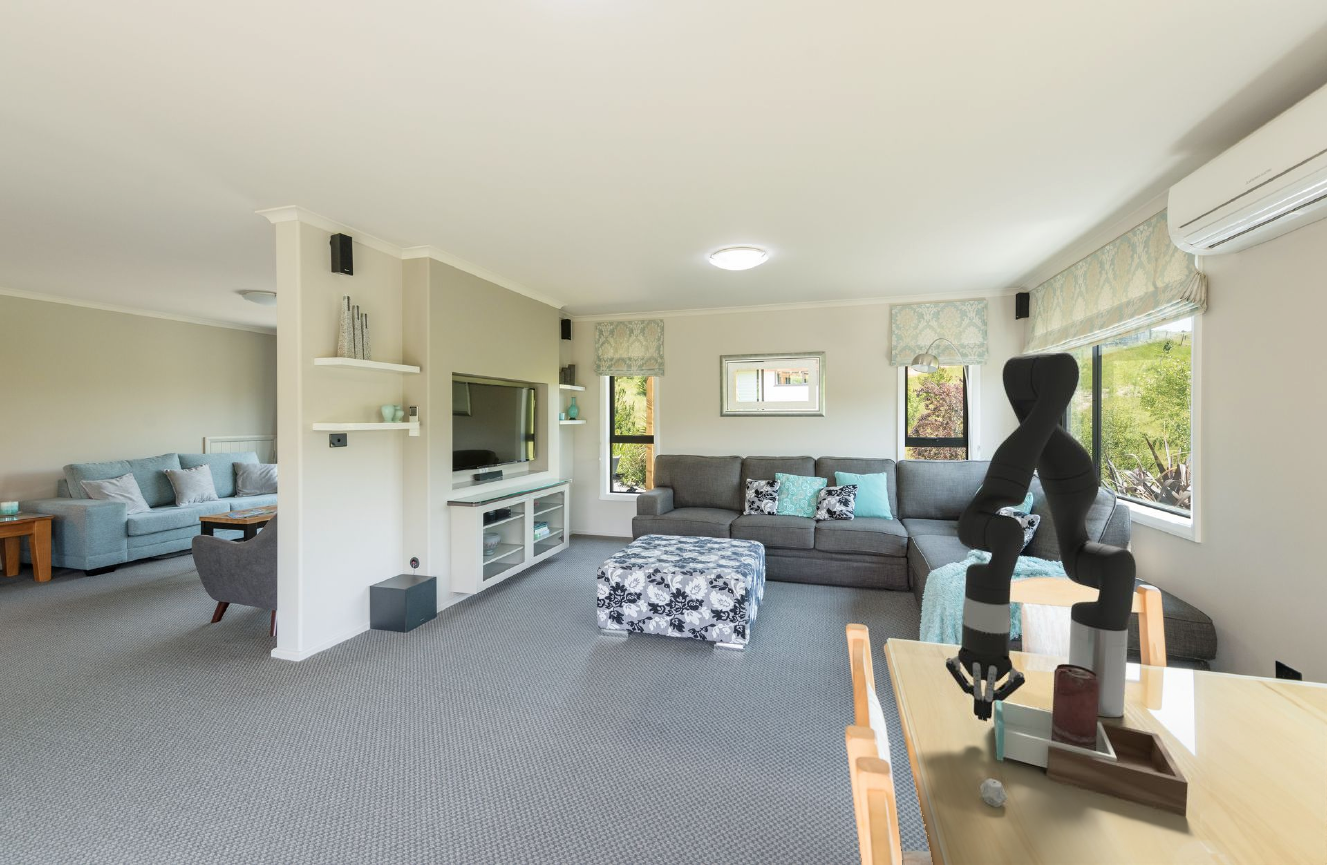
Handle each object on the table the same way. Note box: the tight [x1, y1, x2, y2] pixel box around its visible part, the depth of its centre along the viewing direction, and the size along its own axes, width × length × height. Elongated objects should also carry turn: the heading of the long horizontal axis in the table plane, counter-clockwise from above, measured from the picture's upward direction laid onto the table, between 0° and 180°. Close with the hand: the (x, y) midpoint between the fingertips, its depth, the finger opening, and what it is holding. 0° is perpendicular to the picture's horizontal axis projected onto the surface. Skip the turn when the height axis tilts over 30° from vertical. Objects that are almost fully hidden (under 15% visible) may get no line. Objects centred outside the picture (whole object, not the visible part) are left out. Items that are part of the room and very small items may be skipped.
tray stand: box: [1038, 708, 1188, 817], centre depth 95 cm, size 15×17×5 cm
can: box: [1051, 663, 1099, 751], centre depth 96 cm, size 6×6×14 cm
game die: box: [979, 777, 1008, 808], centre depth 86 cm, size 4×4×3 cm
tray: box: [993, 700, 1117, 769], centre depth 98 cm, size 15×16×5 cm
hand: (982, 718), depth 103 cm, fingers closed
